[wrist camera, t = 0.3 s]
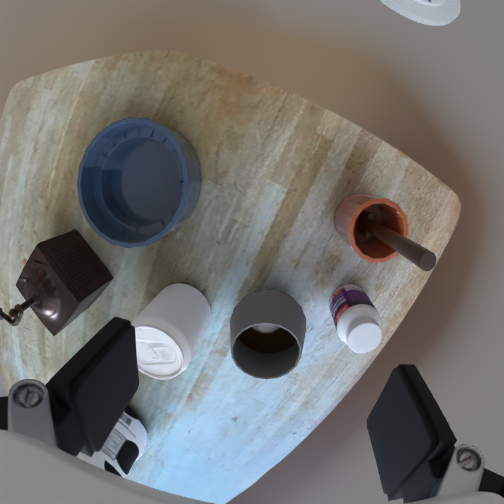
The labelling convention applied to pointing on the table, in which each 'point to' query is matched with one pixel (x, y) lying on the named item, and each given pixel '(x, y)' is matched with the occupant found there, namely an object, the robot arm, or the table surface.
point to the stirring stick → (396, 241)
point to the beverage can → (170, 330)
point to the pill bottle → (355, 318)
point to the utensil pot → (383, 214)
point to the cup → (267, 334)
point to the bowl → (138, 182)
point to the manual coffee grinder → (59, 281)
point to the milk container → (120, 446)
